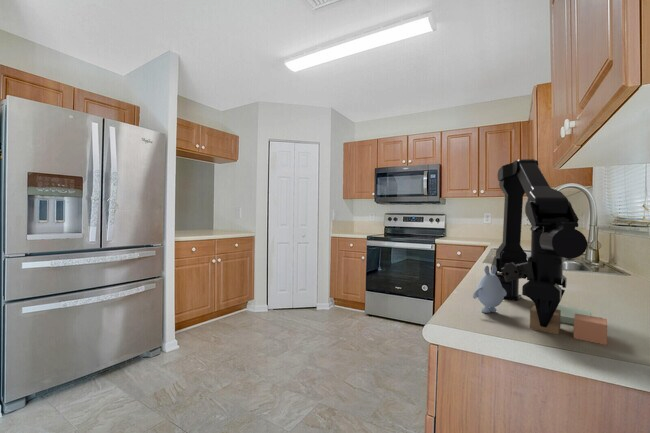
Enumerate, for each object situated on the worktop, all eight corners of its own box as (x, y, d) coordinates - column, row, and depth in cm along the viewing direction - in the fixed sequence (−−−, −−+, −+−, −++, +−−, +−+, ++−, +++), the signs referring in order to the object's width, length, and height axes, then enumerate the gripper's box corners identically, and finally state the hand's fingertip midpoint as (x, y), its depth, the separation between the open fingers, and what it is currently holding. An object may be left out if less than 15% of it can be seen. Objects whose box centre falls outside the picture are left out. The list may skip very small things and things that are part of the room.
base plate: (537, 307, 84) (538, 301, 84) (591, 316, 77) (591, 310, 77) (531, 316, 76) (531, 310, 76) (590, 328, 69) (590, 321, 69)
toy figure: (495, 307, 83) (496, 262, 83) (516, 314, 77) (517, 266, 77) (463, 310, 80) (464, 264, 80) (482, 318, 74) (483, 268, 74)
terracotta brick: (574, 332, 66) (575, 313, 66) (606, 338, 63) (606, 318, 63) (573, 338, 63) (574, 319, 63) (606, 345, 59) (607, 325, 59)
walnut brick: (533, 322, 71) (533, 305, 71) (560, 328, 68) (560, 310, 68) (529, 328, 68) (530, 310, 68) (558, 334, 64) (558, 315, 64)
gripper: (512, 247, 80) (511, 307, 80) (495, 252, 66) (493, 325, 66) (567, 250, 73) (566, 316, 73) (560, 258, 59) (558, 339, 59)
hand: (545, 323), depth 68 cm, fingers closed on walnut brick, 5 cm apart
